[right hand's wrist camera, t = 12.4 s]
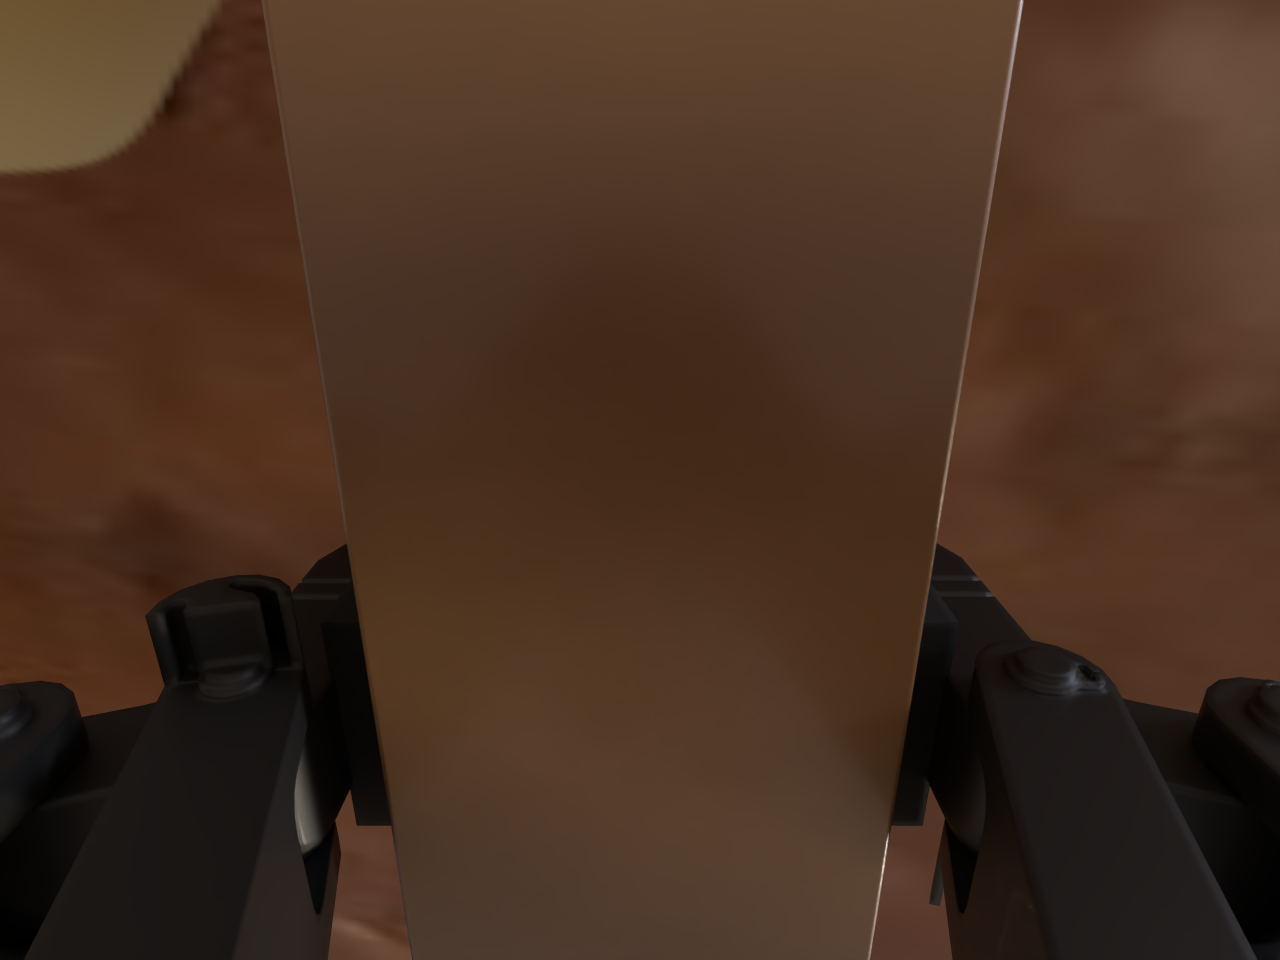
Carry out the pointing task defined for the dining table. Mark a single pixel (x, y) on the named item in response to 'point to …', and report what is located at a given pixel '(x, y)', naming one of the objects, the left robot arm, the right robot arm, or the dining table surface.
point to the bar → (641, 439)
